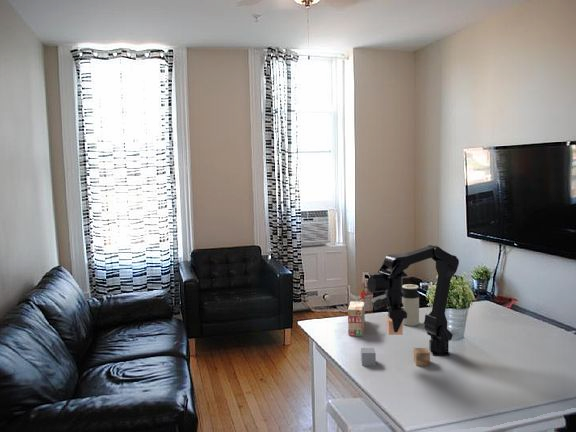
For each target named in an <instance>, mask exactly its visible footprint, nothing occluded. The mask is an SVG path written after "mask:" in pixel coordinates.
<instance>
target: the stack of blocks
mask: <svg viewBox="0 0 576 432" xmlns="http://www.w3.org/2000/svg"><path fill="white" fill-rule="evenodd" d="M365 310H366V309H365V302H364V301H350V302H349V306H348V308H347V325H348V327H347V329H348V331H347V335H351V337H363V335H364V329H365V328H364V327H365V323H366V322H365V321H366V320H365V319H366V312H365Z"/></svg>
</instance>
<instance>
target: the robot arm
mask: <svg viewBox="0 0 576 432" xmlns="http://www.w3.org/2000/svg"><path fill="white" fill-rule="evenodd" d="M428 259H432V260H433V261H434V262H435V270H436V273H437V279H436V286H435V291H434V296H433V297H434V298H433V303H432V307H431V311H430V312H429V313H428V314H427V313H426V314H425V316H424V322H423V323H422V324H423V325H424V330H425V331H426V333H427V336H430V339H429V341H428V344H429V345H428V346H429V348H428V350H429V352H430V354H432V356H450V352H449V341H452V340H453V336H454V334H453V333H452V332H451V331H450V330H449V329H448V320H447V317H446V308H447V304H448V298H449V291H450V287H451V280H452V278H453V276H454V275H456V273H457V270H458V267H459V265H460V259H459V258H458V257H457V256H456V255H453V254H450V253H449V252H447V251H446V250H443V249H442V248H441V247H439V246H438V245H434V244H428V245H427V246H424V247H422V248H418V249H415V250H413V251H408V252H406V253H394V254H387V255H386V256H385V258H384V260H383V262H382V264H381V266H380V268H379V269H378V271H377V272H376V273H370V275H369V276H370V277H369V278H367V282H366V286H367V289H368V291H369V292H370V293H372V294H374V293H380V292H384V294H381V295H378V296H376V297H373V298H371V299H370V301H371V303H372V305H373V309H374V310H375V311H376V310H379V309H381V308H383V307H384V310H385V311H387V313H388V314H387V316H388V317H389V318H391V319H392V323H393V328H394V332H398V330H399V328H400V325H401V323H402V321H403V320H404V319H406V318H407V312H406V310H405V309H404V308H402V307H403V303H402V296H403V292H402V291H403V287H402V286H403V278H405V277H408V274H407V273H406V272H405V271H406V270H407V269H408V268H409V267H410V266H411V265H414V264H416V263H420V262H422V261H426V260H428Z"/></svg>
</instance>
